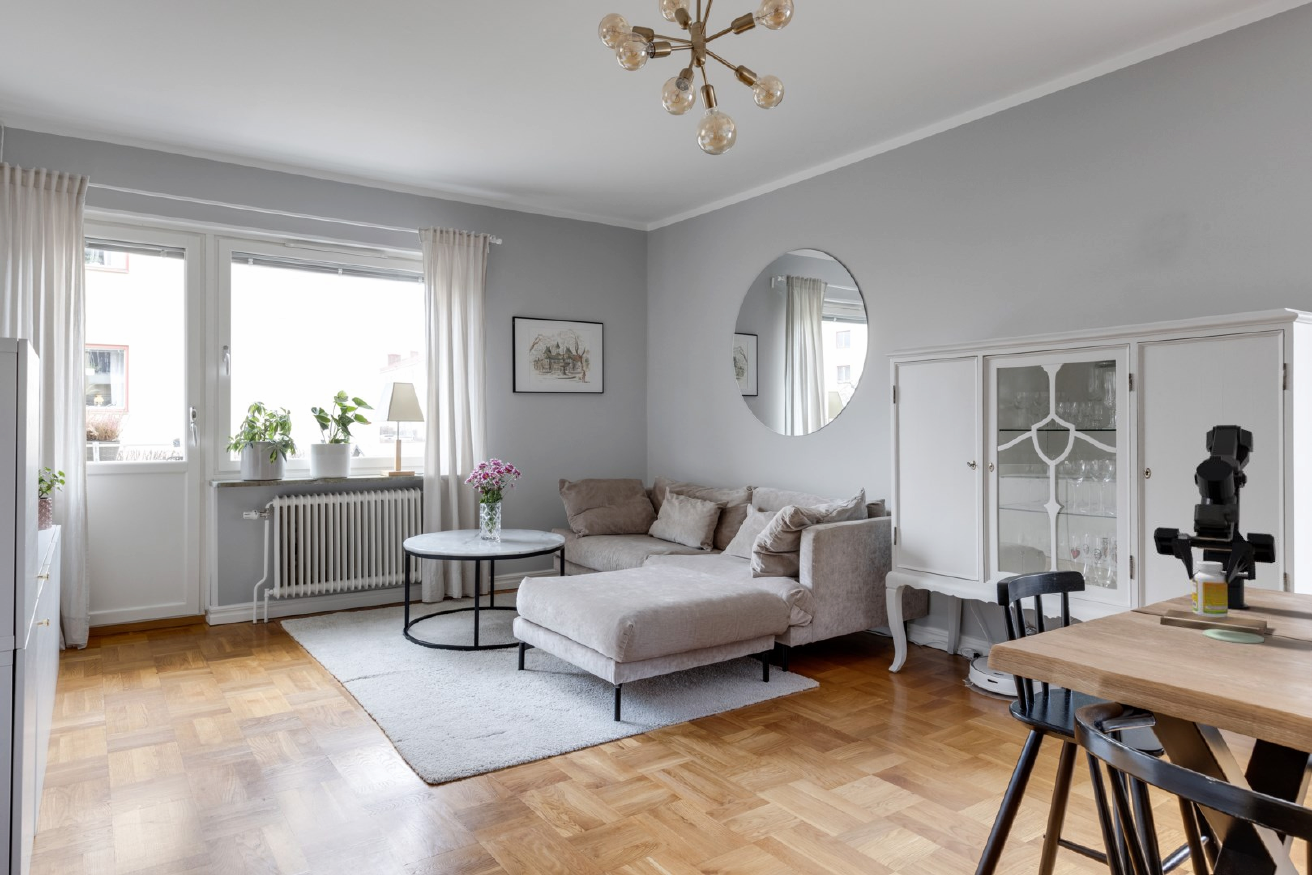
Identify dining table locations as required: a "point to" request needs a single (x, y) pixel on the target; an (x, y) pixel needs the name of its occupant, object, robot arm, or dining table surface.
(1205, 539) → the robot arm
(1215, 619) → the walnut board
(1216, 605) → the supplement bottle
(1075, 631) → the dining table surface
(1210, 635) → the end pad
